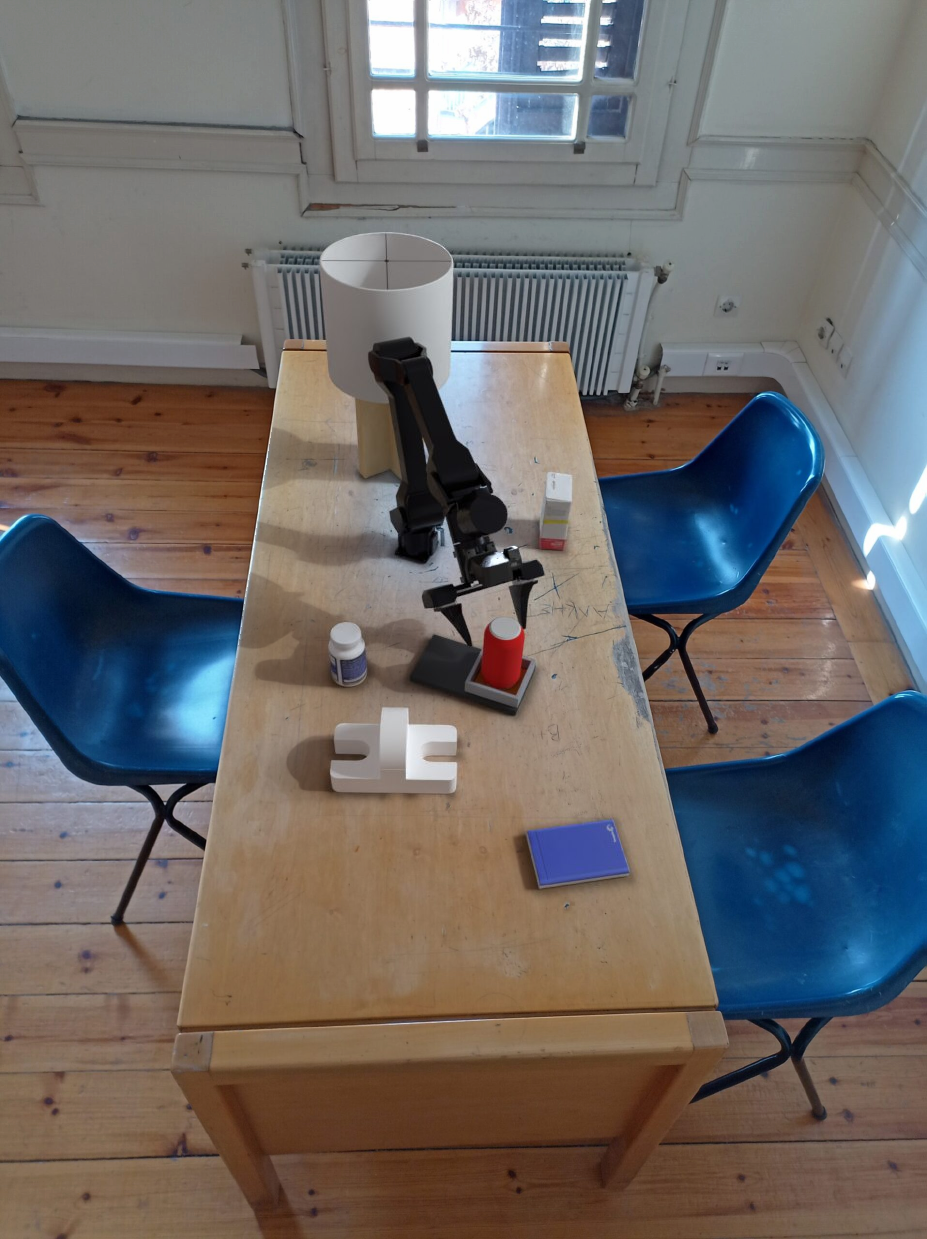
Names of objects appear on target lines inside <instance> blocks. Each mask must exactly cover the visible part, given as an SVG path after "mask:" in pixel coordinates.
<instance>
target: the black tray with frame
mask: <svg viewBox="0 0 927 1239" xmlns="http://www.w3.org/2000/svg"><path fill="white" fill-rule="evenodd" d="M482 654H483V647H481V648H479V647H477V646H474V645H472V646H468V645H467V644H466V643H463V642H459V641H457V640H453V639H451V638H448V637H445V636H441V635H438V634H434V633H433V634H432V635H431V638H430V639H429V642H427V645H426V646H425V649H424V650H423V652H422V654H421V656H420V657H419V659H418V661H417V663H416V664H415V666H414V668H413V670H412V671H411V673H410V675H409V682H412V683H414V684H417V685H421V686H424V687H426V688H431V689H433V690H436V691H438V692H441V693H445V694H448V695H450V696H454V697H457V698H461V699H464V700H466V701H470V702H473V703H475V704H479V705H482V706H485V707H488V708H491V709H494V710H497V711H499V712H503V713H505V714H506V713H507V714H508V715H512V716H516V715H517V713H518V711H519V709H520V706H521V704H522V701H523V699H524V698H525V694H526V692H527V690H528V688H529V685H530V683H531V681H532V678H533V676H534V674H535V671H536V659H535V658H531V657H528V656H526V655H523V656H522V663H521V671H520V678H519V680H518V682H517V683H516V685H514V686H513V687H511V688H509V689H504V690H500V689H495V688H492V687H490V686H489V685H487V684H486V683H485V681H484V680H483V678H482V676H481V666H482Z"/></svg>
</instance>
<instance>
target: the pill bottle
mask: <svg viewBox="0 0 927 1239" xmlns="http://www.w3.org/2000/svg"><path fill="white" fill-rule="evenodd" d="M329 636H330V639H329V643H328V656H329V665H330V672H331V677H332V680H333V681H334V682H335V683H336V684H337V685H339V686H341V687H346V688H347V687H349V688H350V687H355V686H358V685H360V684H361V683H363V682H364V681H365V679H366V678H367V674H368V664H367V652H366V650H367V649H366V641H365V640H364V638H363V637H362V630H361V628H360V627H359V625H357V624H355V623H354V622H349V621H344V622H339V623H337V624H335V625H334V626H333V627H332V629H331V630H330V634H329Z"/></svg>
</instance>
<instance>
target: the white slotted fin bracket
mask: <svg viewBox="0 0 927 1239" xmlns="http://www.w3.org/2000/svg"><path fill="white" fill-rule="evenodd" d="M381 709H382V710H381V716H380V723H355V722H354V723H353V722H351V723H350V722H342V723H338V725H336V726H335V728H334V736H333V743H334V744H333V745H334V753H335V754H336V755H362V756H366V757H365V758H363V759H360V760H337V759H336V760H335V759H334V760H333V759H331V760H330V767H329V768H330V770H329V774H330V781H331V788H332V790H333V791H334V792H336V793H365V794H366V793H368V794H369V793H371V794H426V795H427V794H428V795H429V794H430V795H431V794H432V795H433V794H435V795H437V794H439V795H440V794H441V795H447V794H448V795H450V794H453V793H454V792H455V791H456V789H457V781H458V778H457V777H458V762H456V761H454V762H453V761H452V762H450V761H428V760H426V759H425V758H426V757H430V756H439V757H440V756H443V757H444V756H445V757H446V756H447V757H456V756H457V746H458V730H457V728H456V727H455V726H454V725H452V724H451V725H450V724H413V723H411V724H410V721H409V719H410V718H409V716H410V715H409V707H399V706H398V707H393V706H391V707H389V706H383V707H382V708H381Z"/></svg>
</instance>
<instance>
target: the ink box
mask: <svg viewBox="0 0 927 1239" xmlns="http://www.w3.org/2000/svg"><path fill="white" fill-rule="evenodd" d="M572 496H573V474H569V473H562V472H554V471H553V472H552V471H548V472H546V478H545V485H544V491H543V498H542V505H541V509H540V510H541V511H540V517H539V543H538V544H539V545H538V546H539V550H555V551H564V550H565V545H566V539H567V534H568V528H569V522H570V515H571V510H572V503H573V502H572V500H573V497H572Z"/></svg>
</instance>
